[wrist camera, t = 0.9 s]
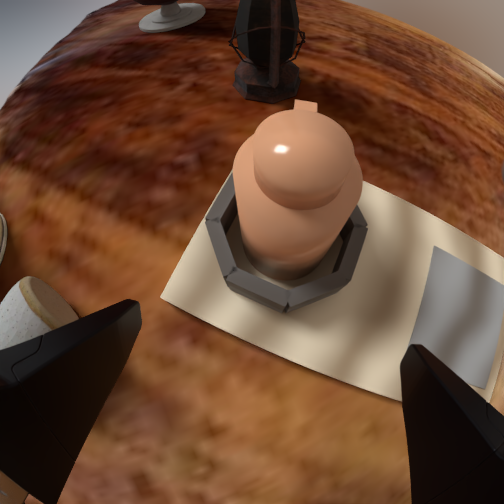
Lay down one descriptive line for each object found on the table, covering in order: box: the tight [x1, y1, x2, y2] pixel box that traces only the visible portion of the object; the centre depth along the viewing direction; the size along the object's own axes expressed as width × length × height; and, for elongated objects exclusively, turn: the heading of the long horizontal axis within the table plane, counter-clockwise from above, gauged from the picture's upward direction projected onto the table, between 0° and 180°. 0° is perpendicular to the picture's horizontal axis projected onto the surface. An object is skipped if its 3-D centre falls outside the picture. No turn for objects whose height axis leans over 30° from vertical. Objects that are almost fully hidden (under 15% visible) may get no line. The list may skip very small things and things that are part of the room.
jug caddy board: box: [160, 170, 504, 403], centre depth 20 cm, size 30×16×4 cm, turn 65°
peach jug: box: [233, 100, 363, 281], centre depth 18 cm, size 9×6×11 cm
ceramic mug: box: [0, 276, 79, 350], centre depth 18 cm, size 11×8×8 cm
